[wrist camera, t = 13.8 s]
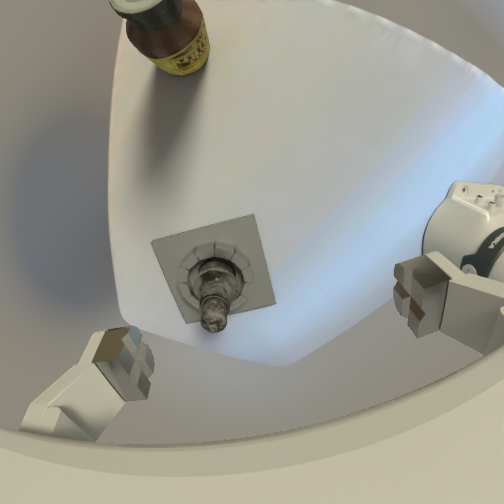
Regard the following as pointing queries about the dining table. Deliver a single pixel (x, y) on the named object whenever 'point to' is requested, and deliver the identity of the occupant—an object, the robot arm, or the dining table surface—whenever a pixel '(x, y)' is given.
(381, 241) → the dining table surface
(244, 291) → the ring
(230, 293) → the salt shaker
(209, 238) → the board
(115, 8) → the sauce bottle
